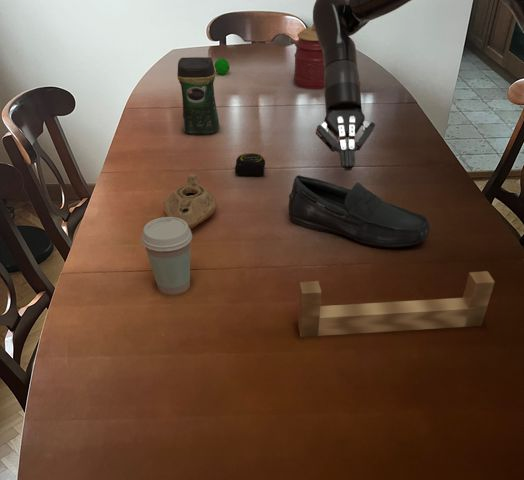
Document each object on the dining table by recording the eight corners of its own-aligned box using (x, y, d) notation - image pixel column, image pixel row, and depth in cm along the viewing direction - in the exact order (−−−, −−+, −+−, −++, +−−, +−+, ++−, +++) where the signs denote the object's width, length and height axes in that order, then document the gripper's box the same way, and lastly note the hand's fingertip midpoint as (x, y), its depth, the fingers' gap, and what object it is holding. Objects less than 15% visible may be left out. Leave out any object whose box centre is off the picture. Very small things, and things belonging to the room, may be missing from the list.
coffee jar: (220, 125, 163) (216, 53, 151) (217, 136, 158) (212, 62, 145) (185, 125, 164) (178, 53, 152) (181, 136, 158) (173, 62, 146)
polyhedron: (232, 74, 197) (232, 58, 194) (222, 77, 194) (221, 62, 191) (222, 71, 199) (221, 55, 196) (211, 74, 197) (210, 59, 194)
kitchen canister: (285, 83, 189) (286, 22, 177) (313, 74, 195) (315, 14, 184) (315, 93, 182) (317, 29, 170) (343, 83, 188) (347, 21, 176)
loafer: (420, 260, 112) (430, 211, 105) (278, 232, 121) (278, 185, 114) (431, 233, 119) (440, 186, 112) (295, 208, 128) (297, 163, 121)
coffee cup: (195, 270, 111) (189, 212, 103) (199, 297, 104) (193, 238, 96) (149, 275, 110) (139, 217, 102) (150, 302, 103) (140, 243, 95)
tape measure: (234, 179, 139) (234, 164, 136) (238, 166, 144) (237, 151, 141) (263, 180, 138) (263, 164, 136) (266, 167, 143) (266, 152, 141)
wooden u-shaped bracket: (474, 315, 99) (487, 271, 93) (481, 326, 97) (494, 282, 91) (298, 326, 98) (299, 281, 92) (300, 338, 96) (301, 293, 90)
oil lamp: (166, 242, 118) (161, 206, 113) (165, 206, 129) (160, 172, 124) (221, 237, 119) (218, 201, 114) (215, 202, 130) (212, 168, 125)
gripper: (369, 96, 129) (375, 174, 128) (309, 99, 129) (314, 177, 128) (377, 79, 122) (383, 161, 121) (313, 81, 121) (319, 164, 120)
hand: (348, 169), depth 124 cm, fingers closed
